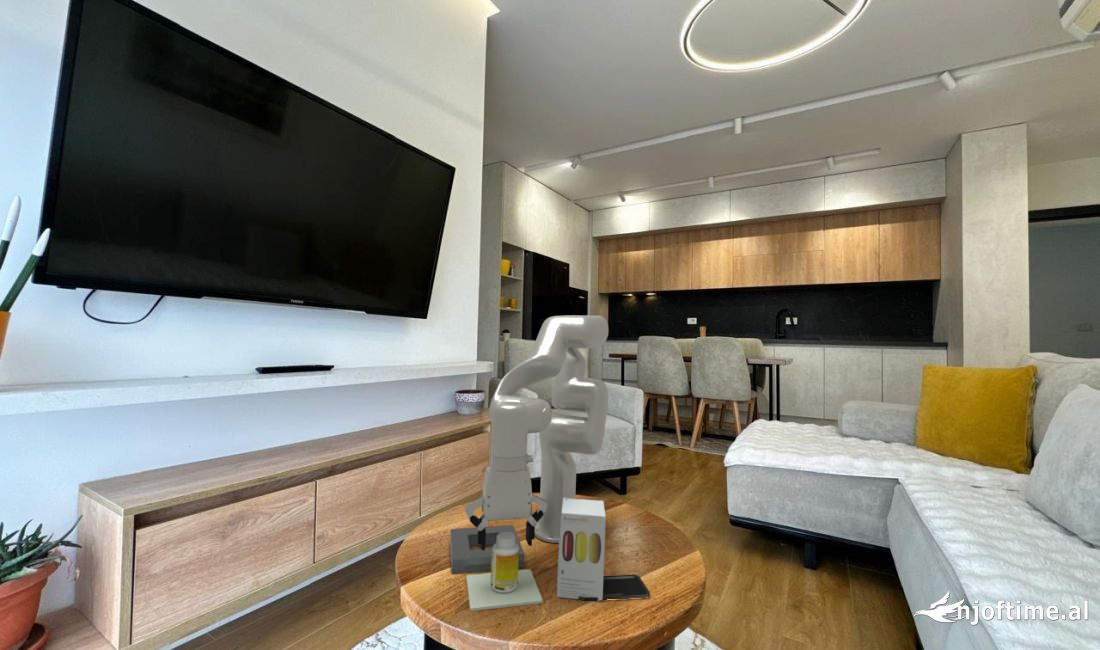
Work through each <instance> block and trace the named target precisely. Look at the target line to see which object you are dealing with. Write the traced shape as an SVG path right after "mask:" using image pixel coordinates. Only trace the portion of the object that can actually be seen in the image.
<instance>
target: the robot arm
mask: <svg viewBox="0 0 1100 650" xmlns="http://www.w3.org/2000/svg"><path fill="white" fill-rule="evenodd" d="M608 336H609V324H608V322H607V320H606V318H605V317H603V316H602V315H579V314H577V315H575V314H573V315H568V314H567V315H554V316H549V317H547V318H546V319H545V320H544V321H543V323H542V324H541V327H540V329H539V332H538V334H537V337H536V340H535V342H534V344H533V347H532V349H531V351H530V353H529V356H528V357H527V358H526V359H525V360H523V361H522V362H520V363H519V364H517V365H516V366H515V367H513V368H512V369H511V370H510V371H508V372H507V373H506V374H504V376H503V377H502V378H501V379H500V381H499V382H498V384H497V386H496V389H495V391H494V394H493V396H492V398H491V401H490V404H489V408H488V417H489V421H490V422H491V429H490V431H491V432H490V461H489V462H490V463H489V465H490V466H488V467H486V469H485V472H484V478H483V484H482V485H483V486H482V496H481V497H479V498H477V499H475V500H474V501H472V502H470V503H469V504H466V505H465V507H464V512H465V514H466V516H467V518H468V520H469V522H470V523H471V524H472V525H473V526H474V528H475V527H476V528H477V529H478V540H477V541H478V545H480V544H481V546H480V549H481V550H482V551H483V550H485V549H486V546H485V543H486V530H485V527H487V525H488V524H489V522H491V521H493V522H494V521H507V520H518V519H525V520H527V521H526V522H525V541H526V544H527V546H529V547H533V540H535V537H536V538H537V539H539V540H541V541H542V542H543V541H544V542H547V543H551V544H552V543H553V544H559V536H560V522H561V512H562V504H563V498H570V499H576V488H577V487H576V486H577V485H576V484H577V483H576V482H577V466H576V463H575V460H574V458H573V457H572V454H571V453H574V454H582V455H590V456H591V455H593V456H594V455H597V454H598V453H600V451H601V449H602V447H603V443H604V437H605V430H606V429H605V428H606V421H607V415H608V406H609V392H608V391H609V390H608V387H607V384H606V383H605V382H604V381H602V380H600V379H596V378H585V377H586V371H587V370H586V369H587V361H586V359H585V357H584V356H583V354H582V353H581V351H580V350H579V349H583V350H584V349H585V350H586V349H595V348H598V347H600V346H602V345H604V344H605V342H607V339H608ZM552 378H554V379H553V383H552V389H551V390H552V391H551V396H550V398H551V405H552V406H553V407H554V408H555V409H557V410H559V411H563V412H568V413H569V412H570V413H582V414H587V417H585V416H576V415H569V414H561V413H560V414H556V413H554V414H553V411H552V407H551V405H550V404H549V402H548V401H546V400H545V399H542V398H538V397H526V396H517V395H518V394H519V393H520V392H521V391H522V390H524V389H525V388H527V387H529V386H531V385H535V384H538V383H541V382H544V381H547V380H549V379H552ZM537 433H538V437H539V438H538V439H539V443H540V454H541V456H540V457H541V460H540V461H541V466H540V467H541V468H540V471H541V472H540V488H539V489H540V494H539V496H538V495H535V494H533V491H532V490H533V489H532V479H531V472H530V467H529V466H528V465H529V463H533V462H534V455H530V454H528V453H527V452H528V435H529V434H537ZM533 503H534V504H535V505H538V508H537V509H536V510H535V512H533ZM480 507H481V512H482V514H481V515H480V516H479V517H478V516H477V515H476V513H474V511H476V510H477V509H479V508H480Z"/></svg>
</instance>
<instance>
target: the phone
mask: <svg viewBox="0 0 1100 650" xmlns="http://www.w3.org/2000/svg"><path fill="white" fill-rule="evenodd" d="M650 595H651V592H650V591H649V589H648V587H647V586H646V584H645V583H644V581H643V579H642V578H641V576H639V575H637V574H619V575H618V574H617V575H603V599H602V600H607V599H630V598H646V597H649V596H650ZM649 598H650V597H649ZM578 599H579V600H581V601H595V602H598V601H597V600H598V598H597V597H581V596H579V598H578ZM578 599H577V600H578ZM579 600H578V601H579ZM581 601H580V602H581Z"/></svg>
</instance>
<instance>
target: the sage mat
mask: <svg viewBox="0 0 1100 650" xmlns="http://www.w3.org/2000/svg"><path fill="white" fill-rule="evenodd" d="M465 579H466V585H467V587H466V588H467V593H468V594H467V596H468V604H469V611H470V612H475V611H484V610H493V609H501V608H502V609H503V608H504V609H505V608H511V607H518V606H520V607H521V606H527V605H528V606H529V605H538V604H543V601H544V600H543V597H542V595H541V592H540V590H539V588H538V585H537V582H536V580H535V578H534V574H533V573H532V571H531V568H529V569H518V584H517V587H516V588H515V589H514V590H513V591H511V592H507V593H500V592H496V591H495V590H493V589H492V587H491V572H487V573H476V574H466V577H465Z"/></svg>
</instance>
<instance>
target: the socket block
mask: <svg viewBox="0 0 1100 650" xmlns="http://www.w3.org/2000/svg"><path fill="white" fill-rule="evenodd" d="M485 530H486V543H485V547H486V546H487V548H485V550H483V551H482V550H481V548H478V549H475V547H481V544H480V545H478V541H477V540H478V529H477V528H476V527H475V526H474V527H463V528H450V532H449V533H450V534H449V535H450V536H449V548H450V567H451V574H452V575H456V574H457V575H458V574H468V573H477V572H488V571H490V572H491V563H492V547H488V546H493V545H494V544H495V543H496V538H497V535H498V534H499V533H502V532H511V533H513V534H515V536H516V542H515V543H517V544H518V546H519V561H518V569H521V568H522V569H523V568H525V551H524V549H523V545H522V544H521V542H520V539H519V537H518V534H517V532H516V529H515V527H514V525H513V524H508V525H506V524H505V525H492V526H491V525H490V526H485ZM473 547H474V549H470V548H473Z"/></svg>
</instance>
